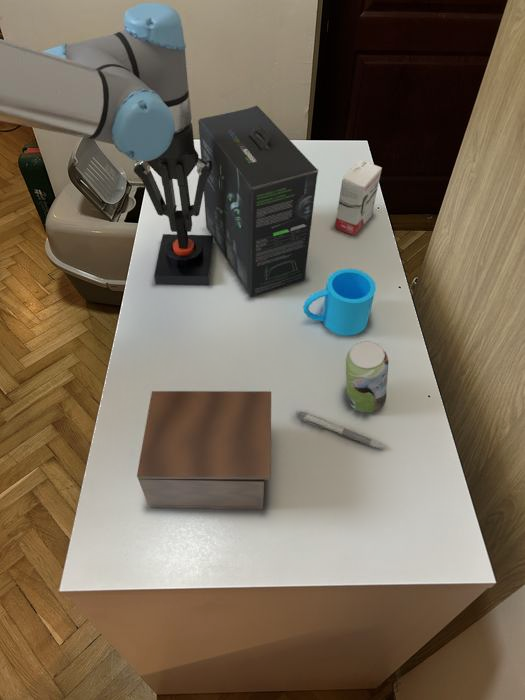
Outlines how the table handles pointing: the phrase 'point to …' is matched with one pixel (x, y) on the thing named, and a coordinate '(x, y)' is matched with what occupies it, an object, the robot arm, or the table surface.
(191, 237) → the button block
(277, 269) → the headset box
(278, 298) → the table surface
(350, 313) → the mug
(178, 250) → the button
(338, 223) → the ink box
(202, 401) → the brown wooden lid
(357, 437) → the pen
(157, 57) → the robot arm
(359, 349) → the beverage can
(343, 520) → the table surface
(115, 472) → the table surface
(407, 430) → the table surface
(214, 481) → the chest
